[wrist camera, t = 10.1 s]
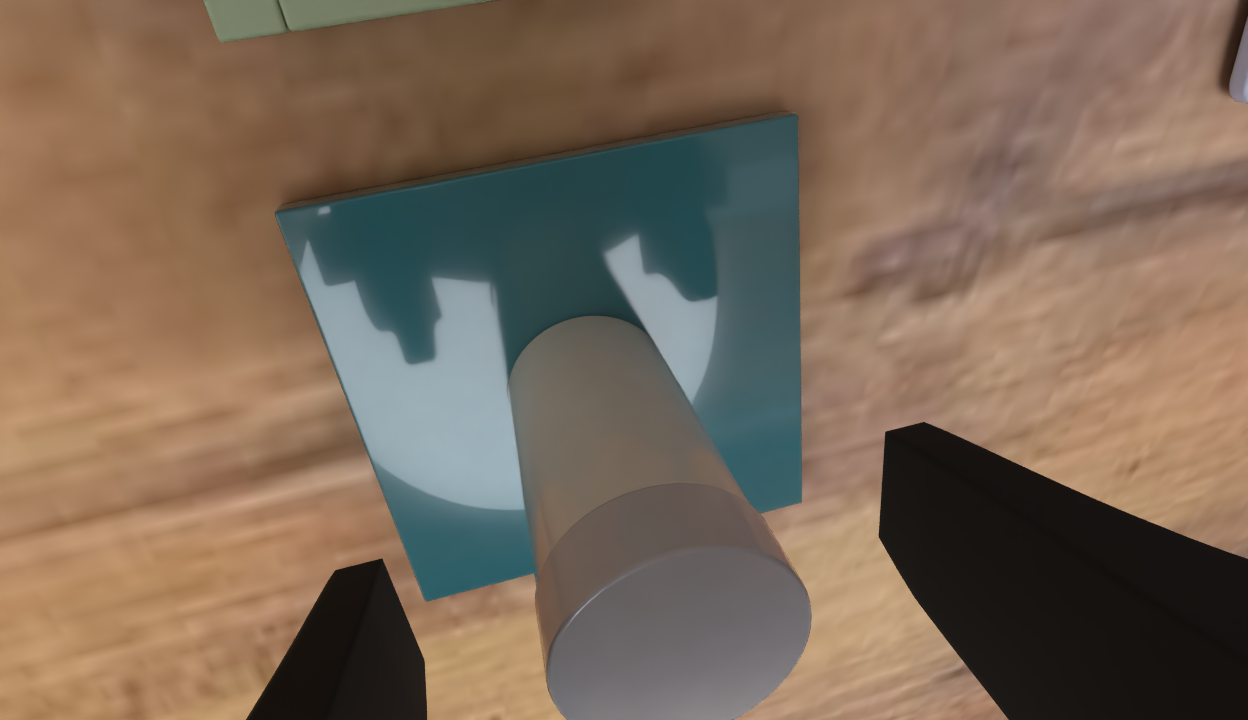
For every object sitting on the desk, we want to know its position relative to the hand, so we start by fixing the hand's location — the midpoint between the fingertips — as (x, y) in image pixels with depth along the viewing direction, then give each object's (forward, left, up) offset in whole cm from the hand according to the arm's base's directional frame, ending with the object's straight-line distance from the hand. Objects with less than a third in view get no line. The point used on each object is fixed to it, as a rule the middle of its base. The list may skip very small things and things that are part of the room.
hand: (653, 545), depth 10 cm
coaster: (0, 0, -5) cm, 5 cm away
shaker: (0, 0, -5) cm, 5 cm away
